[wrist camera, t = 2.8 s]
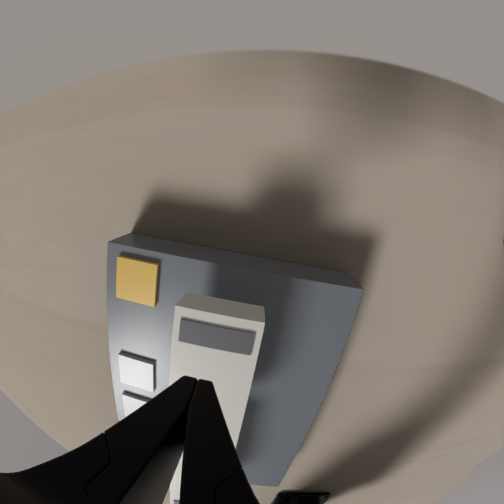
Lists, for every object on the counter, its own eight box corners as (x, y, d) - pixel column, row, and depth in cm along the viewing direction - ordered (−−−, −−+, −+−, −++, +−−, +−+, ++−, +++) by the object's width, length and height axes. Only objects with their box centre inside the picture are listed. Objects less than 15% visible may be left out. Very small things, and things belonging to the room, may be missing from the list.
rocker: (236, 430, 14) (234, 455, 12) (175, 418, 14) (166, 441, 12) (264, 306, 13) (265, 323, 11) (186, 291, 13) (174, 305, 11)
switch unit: (277, 463, 22) (278, 494, 18) (136, 435, 22) (123, 463, 18) (348, 272, 17) (369, 296, 13) (130, 232, 17) (99, 245, 13)
